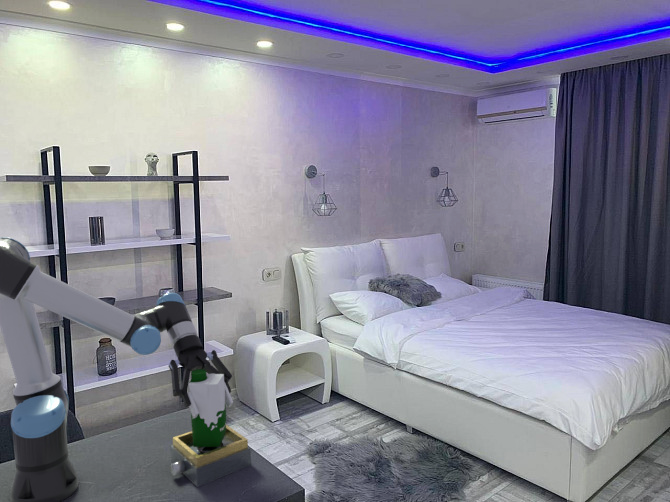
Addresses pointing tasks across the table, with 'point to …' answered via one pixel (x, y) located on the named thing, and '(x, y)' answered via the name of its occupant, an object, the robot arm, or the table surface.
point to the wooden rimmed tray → (209, 457)
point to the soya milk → (208, 408)
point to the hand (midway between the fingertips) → (213, 410)
